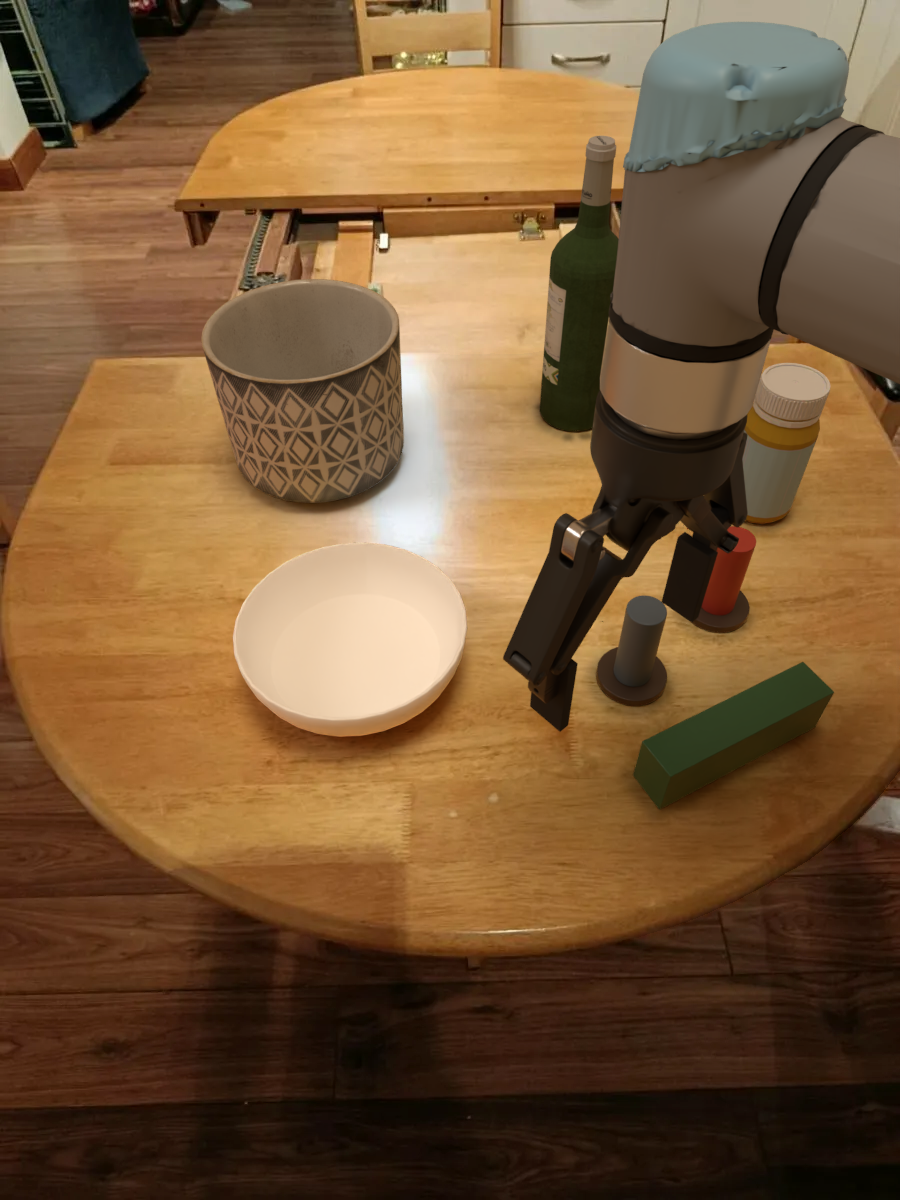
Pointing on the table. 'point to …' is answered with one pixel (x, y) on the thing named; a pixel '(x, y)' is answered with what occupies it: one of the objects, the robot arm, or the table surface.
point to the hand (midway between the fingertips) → (617, 660)
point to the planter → (309, 387)
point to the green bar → (730, 734)
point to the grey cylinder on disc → (636, 655)
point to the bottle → (781, 437)
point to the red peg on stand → (728, 587)
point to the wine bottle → (580, 300)
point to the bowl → (350, 638)
